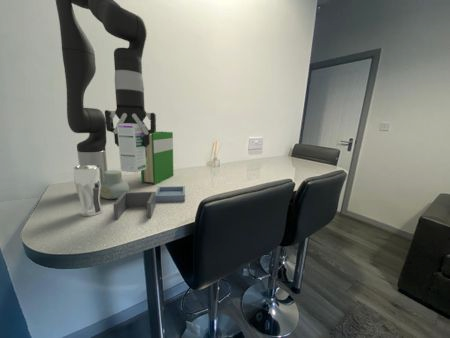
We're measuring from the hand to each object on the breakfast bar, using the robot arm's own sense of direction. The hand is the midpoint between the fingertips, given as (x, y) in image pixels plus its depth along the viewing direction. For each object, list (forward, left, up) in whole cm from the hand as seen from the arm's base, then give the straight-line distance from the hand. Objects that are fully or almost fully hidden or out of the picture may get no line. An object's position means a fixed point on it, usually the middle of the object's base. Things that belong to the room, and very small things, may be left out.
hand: (133, 146), depth 62 cm
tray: (+10, +13, -22) cm, 27 cm away
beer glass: (-14, +1, -22) cm, 26 cm away
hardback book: (+2, +39, -22) cm, 45 cm away
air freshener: (-11, +14, -22) cm, 29 cm away
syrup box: (0, 0, -8) cm, 8 cm away
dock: (0, 0, -22) cm, 22 cm away
